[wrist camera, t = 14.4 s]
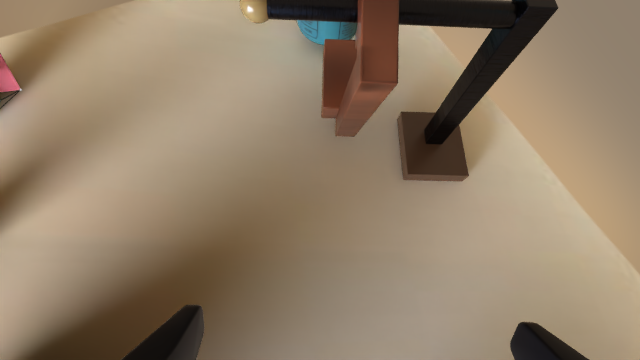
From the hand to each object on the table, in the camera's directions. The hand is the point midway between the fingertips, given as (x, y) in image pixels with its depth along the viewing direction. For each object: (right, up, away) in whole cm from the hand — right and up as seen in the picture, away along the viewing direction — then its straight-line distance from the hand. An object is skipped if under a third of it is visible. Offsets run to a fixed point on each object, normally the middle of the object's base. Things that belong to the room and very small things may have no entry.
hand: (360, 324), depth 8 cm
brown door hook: (+1, +11, +17) cm, 20 cm away
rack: (+2, +7, +18) cm, 19 cm away
